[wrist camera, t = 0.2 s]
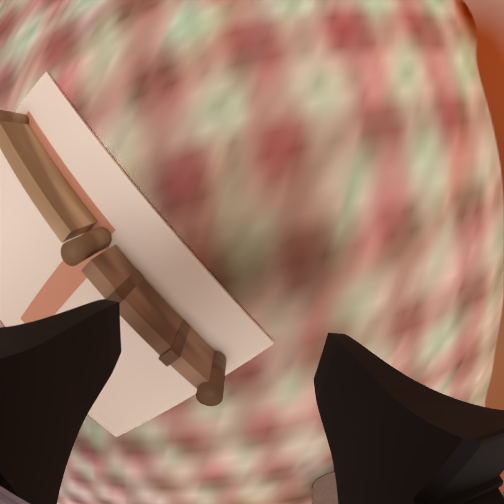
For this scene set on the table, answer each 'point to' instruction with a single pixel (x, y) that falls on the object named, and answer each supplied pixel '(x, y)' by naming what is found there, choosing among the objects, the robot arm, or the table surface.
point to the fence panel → (158, 324)
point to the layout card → (123, 236)
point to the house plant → (325, 490)
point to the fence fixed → (50, 190)
